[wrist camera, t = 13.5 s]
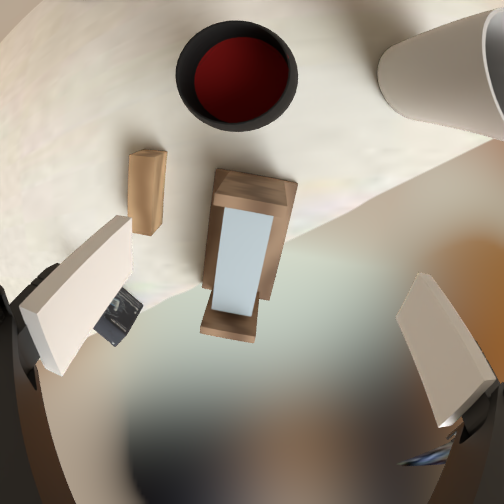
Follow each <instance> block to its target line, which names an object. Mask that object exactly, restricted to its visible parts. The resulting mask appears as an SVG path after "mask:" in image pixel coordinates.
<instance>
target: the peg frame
mask: <svg viewBox="0 0 504 504" xmlns="http://www.w3.org/2000/svg"><path fill="white" fill-rule="evenodd" d="M297 186H298V184H297V183H295V182H290V181H285V180H280V179H275V178H270V177H265V176H259V175H254V174H249V173H243V172H237V171H231V170H225V169H219V168H217V169H216V172H215V179H214V187H213V194H212V202H211V210H210V218H209V226H208V235H207V244H206V253H205V262H204V272H203V283H202V288H205V289H210V290H212V291H211V294H210V297H209V300H208V304H207V307H206V310H205V313H204V316H203V320H202V323H201V326H200V333H202V334H207V335H211V336H216V337H222V338H227V339H233V340H238V341H244V342H250V343H254V341H255V336H256V326H257V315H258V304H259V299H263V300H270V296H271V292H272V288H273V284H274V280H275V277H276V273H277V269H278V265H279V261H280V257H281V253H282V249H283V245H284V241H285V237H286V233H287V228H288V224H289V220H290V216H291V212H292V208H293V203H294V199H295V195H296V191H297ZM225 207H227V208H232V209H238V210H243V211H249V212H254V213H259V214H265V215H270V216H274V217H273V222H272V226H271V231H270V235H269V240H268V244H267V249H266V253H265V258H264V262H263V267H262V271H261V276H260V280H259V285H258V289H257V294H256V298H255V302H254V307H253V311H252V316H245V315H239V314H234V313H229V312H224V311H218V310H213V309H211V308H212V300H213V291H214V283H215V275H216V267H217V259H218V252H219V244H220V237H221V230H222V223H223V216H224V209H225Z"/></svg>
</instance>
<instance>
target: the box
mask: <svg viewBox="0 0 504 504" xmlns="http://www.w3.org/2000/svg"><path fill="white" fill-rule="evenodd" d="M142 307H143V305H142V304H141V303H140V302H138V301H137V300H136V299H135V298H134V297H133V296H131V295H130V294H129V293H128V292H127V291H126V290H125V289H123V288H122V287H121V289H120V290H119V292H118V293H117V294H116V296H115V297H114V299H113V300H112V301H111V303H110V304H109V306H108V307H107V309H106V310H105V311H104V313H103V314H102V316H101V317H100V319H99V320H98V322H97V323H96V325H95V326H94V328H93V329H94V330H95V331H97V332H98V333H99V334H100V335H101V336H103V337H104V338H105V339H106V340H107V341H109V342H110V343H111V344H112V345H113V346H114V347H116V346H117V345H118V343H120V342H121V340H122V339H123V338H124V337H125V336H126V335H127V334H128V332H129V330H130V329H131V326H132V325H133V323H134V322H135V320H136V318H137V316H138V314H139V313H140V311H141V309H142Z"/></svg>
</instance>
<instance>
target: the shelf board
mask: <svg viewBox="0 0 504 504" xmlns="http://www.w3.org/2000/svg"><path fill="white" fill-rule="evenodd" d="M273 217H274V216H270V215H265V214H259V213H254V212H249V211H243V210H238V209H232V208H227V207H225V209H224V216H223V223H222V230H221V237H220V244H219V252H218V259H217V267H216V275H215V283H214V291H213V300H212V308H211V309H213V310H218V311H224V312H229V313H234V314H239V315H245V316H252V311H253V307H254V302H255V298H256V294H257V289H258V285H259V280H260V276H261V271H262V267H263V262H264V258H265V253H266V249H267V244H268V240H269V235H270V231H271V226H272V222H273Z"/></svg>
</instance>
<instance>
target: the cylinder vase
mask: <svg viewBox="0 0 504 504" xmlns="http://www.w3.org/2000/svg"><path fill="white" fill-rule="evenodd" d="M377 75H378V83H379V87H380V89H381V92H382V94H383V96H384V98H385V99H386V101H387V102H388V104H389V105H390V106H391V107H392V108H393V109H394V110H395V111H396V112H397V113H399V114H400V115H402V116H404V117H406V118H408V119H411V120H415V121H420V122H426V123H432V124H437V125H442V126H447V127H451V128H456V129H460V130H464V131H469V132H473V133H476V134H480V135H484V136H488V137H491V138H495V139H498V140H501V141H504V8H497V9H493V10H490V11H486V12H482V13H479V14H475V15H472V16H469V17H466V18H463V19H460V20H457V21H454V22H451V23H448V24H445V25H442V26H440V27H437V28H434V29H432V30H429V31H426V32H424V33H421V34H419V35H416V36H414V37H412V38H409V39H407V40H405V41H402V42H400V43H398V44H395V45H393V46H391V47H390V48H388V49H387V50H386V51H385V52H384V54H383V55H382V57H381V59H380V61H379V64H378V71H377Z"/></svg>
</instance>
